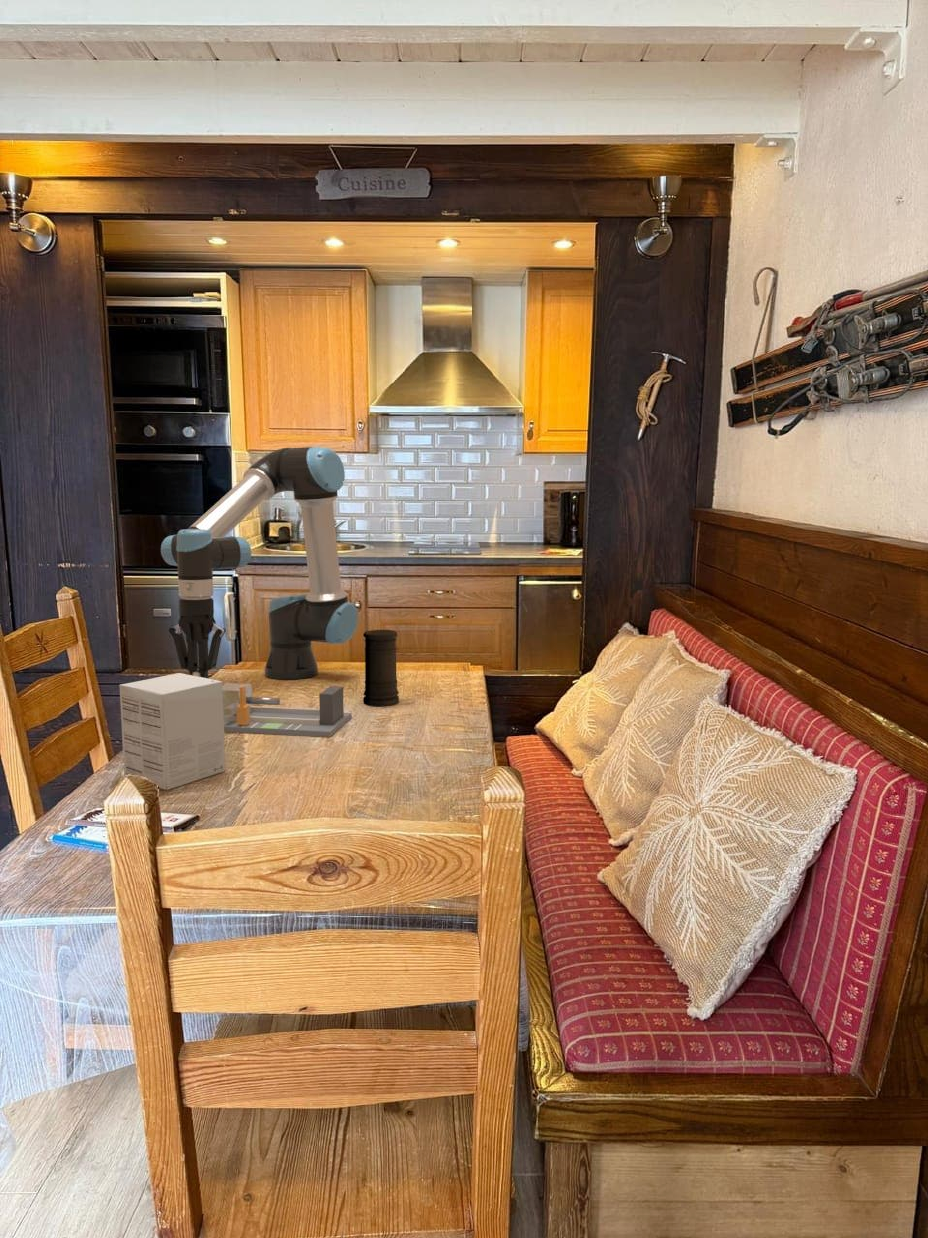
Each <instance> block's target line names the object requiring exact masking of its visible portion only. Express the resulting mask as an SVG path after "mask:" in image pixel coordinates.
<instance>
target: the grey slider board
mask: <svg viewBox="0 0 928 1238" xmlns="http://www.w3.org/2000/svg"><path fill="white" fill-rule="evenodd" d="M318 695H319V708H301V707H297V708H296V707H276V706H255V705H252V712H250V723H249V724H247V725H237V715H232V716H224V715H223V719H224V733H239V734H241V733H242V734H257V735H258V734H260V735H263V734H264V735H277V736H279V735H281V736H299V737H321V738H324V737H325V738H331V737H333V736H334V735H335V734H336V733H337V732H338V731H339V730H340V729H341V728H343V727H344V726H345V724H347V723H348V722H349V721H351V719H352V717H353V716H352V715H353V714H352V712H344V686H343V685H342V686H341V685H340V686H338V685H337V686H336V685H329V687H327V688H325V689H324V690H323V691H321V692H320V693H319V694H318Z"/></svg>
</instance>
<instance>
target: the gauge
mask: <svg viewBox="0 0 928 1238" xmlns="http://www.w3.org/2000/svg"><path fill="white" fill-rule="evenodd" d="M241 686H246V705H250V712H252V706H253V705H262V706H263V705H265V706H280V705H281V698H279V697H259V696H258V697H257V696H253V693H252V683H232V682H231V683H230V682H228V683H227V682H226V683H224V684H222V695H223V715H224V716H232V715H237V707H238V706H239V705H240V687H241Z"/></svg>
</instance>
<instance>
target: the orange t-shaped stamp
mask: <svg viewBox="0 0 928 1238" xmlns="http://www.w3.org/2000/svg"><path fill="white" fill-rule="evenodd" d="M249 723H250V705H246V686H241V687H240V705H239V706H238V707H237V725H247V724H249Z"/></svg>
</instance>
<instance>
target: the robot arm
mask: <svg viewBox="0 0 928 1238" xmlns="http://www.w3.org/2000/svg"><path fill="white" fill-rule="evenodd" d="M344 481H345V467H344V463H343V462H342V459H341V457H340V455H338V454H337V452H336V451H335V450H334V449H331V448H329V447H326V446H325V447H323V446H305V447H303V446H302V447H284V448H283V447H282V448H279V449H275V450H273V451H271V452H269V453H267V454H266V455H265V456H263V457H261V458H260V459H258V460H257V461H256V462H255V463H253V464H252V465H250V467H248V468H247V469H246V471H244V473H243V476H242V479H241V480H240V481H239V482H237V484H236V485H234V486H233V487H232V488H231V489H230V490H229V491H228V492H227V493H226V494H225V495H224V496H222V497H221V498H220V499H219V500H218V501H217V502H216V503H214V505H211V507H210V508H209V509H207V511H206V512H205V513H203V514H202V515H201V516H200V517H199V518H198V519H197V520H196V521H195V522H194V523H193V524H191V525H190V526H189V527H188V528H187V529H180V530H179V531H178V532H177V534H173V535H172V534H171V535H168V536H167V537H165V538H164V539H163V541H162V542H161V545H160V555H161V557H162V559H163V560H164V562H165V563H166V564H168V565H169V566H175V567H177V580H178V581H177V582H178V584H177V585H178V596H179V597H180V599H179V600H178V613H179V619H178V623H177V624H176V625H174V626H173V627H172V626H171V627H169V628H168V632H169V633H170V635H171V637H172V638H173V643H174V647H175V650H176V653H177V658H178V660H179V665H180V668H181V669H182V670H183V669H184V670H186V671H188V672H189V673H188V675H192V676H197V677H202V678H208V679H209V671H210V670H213V669H215V668H216V667H217V663H218V657H219V653H220V648H221V643H222V638H223V636H224V634H225V633H226V632H227V630H226V629H225V628H224V627H221V626H219V625H217V623H216V619H215V617H214V614H215V613H214V611H215V608H214V598H212V597H213V596H214V584H213V583H214V581H213V579H214V575H213V571H214V570H227V569H233V570H236V569H238V568H244V567H246V566H247V565H248V564H249V562H250V561H251V559H252V547H251V545H250V543H249V541H248V540H246V539H245V538H244V537H242V536H234V535H230V536H228V535H229V533H230V532H231V531H233V530H234V529H235V528H236V527H237V526H238V525H239V524H240V523H241V522H242V521H243V520H244V519H245V518H246V517H247V516H248V515H249V514H251V512H252V511H254V510H255V509H256V508H258V506H260V504H261V503H262V502H263V501H267V500H271V499H272V498H274V495H276V494H279V493H280V494H281V493H283V492H293V499H294V501H296V503H298V504H299V505H300V510H301V520H302V528H303V536H304V538H303V539H304V546H305V547H304V548H305V555H306V566H307V574H308V583H309V593H304V594H294V595H293V594H291V595H286V596H285V595H284V596H278V597H274V598H271V599H270V601H269V609H268V610H269V611H268V619H269V621H268V623H269V639H270V641H269V643H270V648H269V652H268V657H267V659H266V663H265V666H264V675H265V677H266V678H268V679H275V680H300V679H307V678H312V677H315V676H317V675H318V674H319V668H318V667H319V665H318V663H317V659H316V657H315V654H314V652H313V649H312V648H313V647H312V642H315V643H316V642H317V643H324V644H325V643H326V644H329V645H332V644H334V645H335V644H345V643H346V642H348V641H349V640H351V639H352V637H353V636H354V634H355V631H356V630H357V626H358V623H359V611H358V609H357V607H356V605H355V604H354V603H352V602H350V601H349V598H348V597H349V596H348V593H347V592H346V591H345V590H344V589H343V588H342V584H341V573H340V563H339V555H338V553H339V552H338V542H337V532H336V523H335V512H334V502H335V501H336V499H337V498H338V496H339V495H338V491H339V490H340V489H342V488H343V486H344ZM183 633H184V634H185V637H184V634H183ZM211 633H212V636H211V637H212V638H211V641H210V642H211V643H210V646H209V636H210V634H211ZM185 640H186V641H185ZM186 643H187V645H186Z"/></svg>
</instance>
